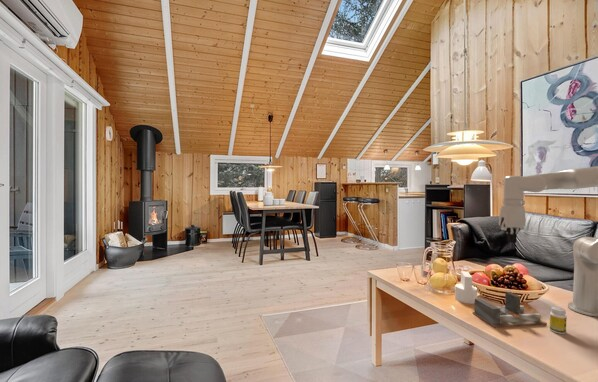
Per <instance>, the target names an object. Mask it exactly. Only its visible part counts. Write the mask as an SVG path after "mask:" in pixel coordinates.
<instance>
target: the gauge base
mask: <svg viewBox="0 0 598 382" xmlns="http://www.w3.org/2000/svg"><path fill="white" fill-rule="evenodd" d="M500 308H505V305H502V306H501V305H500V306H499V305H498V306H496V305H494V304H492V303H491V302H488V301H487V300H485V299H483V298H477V299H475V303H474V310H473V311H472V314H473V315H474V316H476V317H478V319H481V320H483V321H484V322H486V323H487V324H489V325H490V326H492V327H493V328H502V327H503V328H510V327H524V326H525V327H527V326H543V325H547V322H546V321H544V320H542V319H541V318H542V315H541V314H540V313H538V312H537V313H534V312H533V313H527V312H526V311H525V306H524V305H521V304H520V314H517V315H519V317H516V316H514V315H500Z"/></svg>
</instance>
